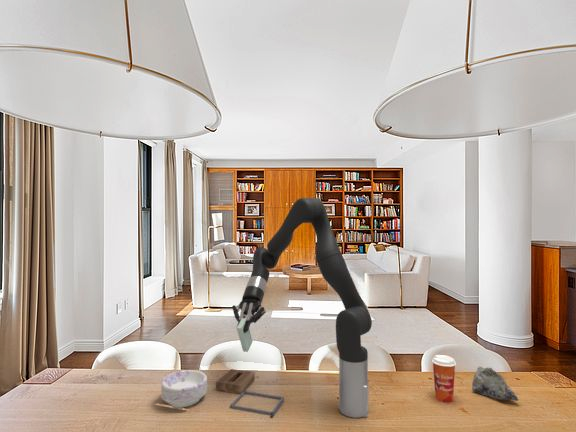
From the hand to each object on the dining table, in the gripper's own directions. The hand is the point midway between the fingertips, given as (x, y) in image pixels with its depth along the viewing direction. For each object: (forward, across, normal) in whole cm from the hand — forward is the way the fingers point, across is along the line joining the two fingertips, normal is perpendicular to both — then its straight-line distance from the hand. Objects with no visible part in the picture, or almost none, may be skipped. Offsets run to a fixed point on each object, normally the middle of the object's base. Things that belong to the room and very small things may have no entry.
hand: (241, 331), depth 128 cm
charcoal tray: (+19, +7, +14) cm, 25 cm away
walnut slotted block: (+12, -6, +21) cm, 25 cm away
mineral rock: (-2, +84, +38) cm, 92 cm away
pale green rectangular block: (+1, 0, +9) cm, 9 cm away
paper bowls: (+22, -18, +10) cm, 30 cm away
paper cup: (+2, +67, +33) cm, 75 cm away
